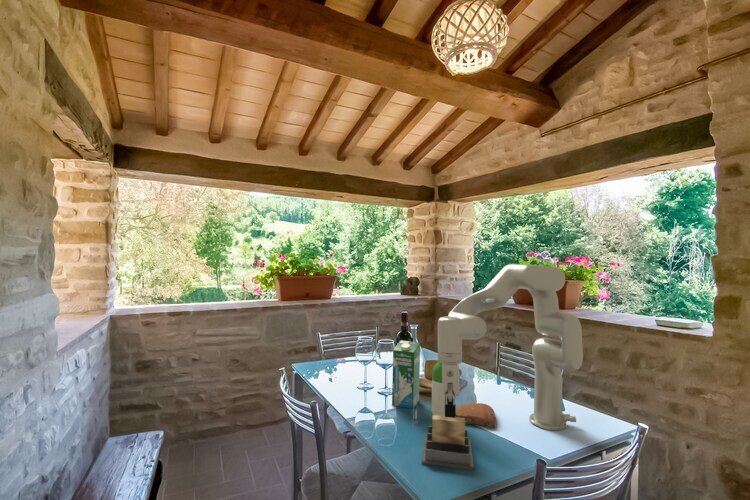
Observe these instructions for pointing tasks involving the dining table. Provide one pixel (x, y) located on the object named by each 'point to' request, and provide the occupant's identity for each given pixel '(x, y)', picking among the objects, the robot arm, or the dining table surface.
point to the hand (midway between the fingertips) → (450, 410)
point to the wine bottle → (437, 391)
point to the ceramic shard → (477, 414)
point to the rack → (447, 453)
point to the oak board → (448, 429)
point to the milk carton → (406, 374)
